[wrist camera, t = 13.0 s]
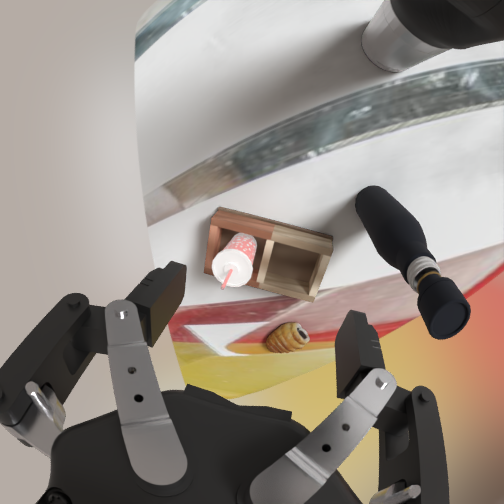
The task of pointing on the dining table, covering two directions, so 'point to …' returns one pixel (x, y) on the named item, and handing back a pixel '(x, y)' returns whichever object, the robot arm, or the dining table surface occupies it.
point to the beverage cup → (235, 261)
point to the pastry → (287, 338)
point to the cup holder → (274, 252)
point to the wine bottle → (413, 261)
